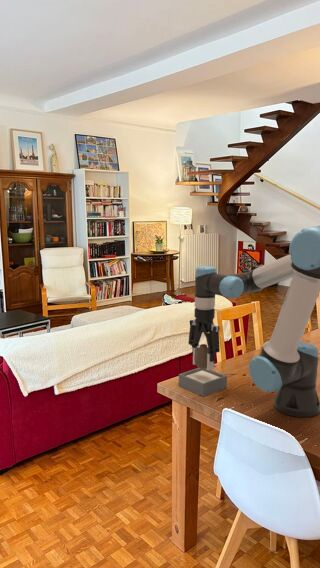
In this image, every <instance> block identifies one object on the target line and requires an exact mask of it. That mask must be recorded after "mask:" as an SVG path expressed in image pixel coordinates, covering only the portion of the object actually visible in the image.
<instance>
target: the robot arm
mask: <svg viewBox="0 0 320 568" xmlns="http://www.w3.org/2000/svg"><path fill="white" fill-rule="evenodd" d="M288 253H289V254H287V255H285V256H282V257H280V258H278V259H276V260H273V261H271V262H268V263H266V264H263V265H261V266H259V267H256V268H254V269H252V270H249V271H246V272H243V273H242V272H240V273H232V274H230V273H229V274H222V273H217V268H216V267H215V266H211V265H200V266H197V267H196V268H195V274H194V275H195V277H194V280H195V281H194V282H195V283H194V286H195V287H194V307H195V308H194V318H193V319H190V320H189V334H188V335H189V336H188V345H190V346H191V348H192V352H191V354H192V365H194V366H196V364H195V362H194V355H195V352H196V351H197V349H198V348H199V347H200V342H201V338H202V335H204V336H205V339H206V343H207V344H206V345H207V347H208V349H209V353H207V370H213V369H214V363H215V361H216V354H217V353H220V347H221V346H220V329H221V328H220V326H219V325H215V323H214V318H215V316H216V315H215V314H216V309H215V307H216V306H215V305H216V295H217V296H220V297H224V298H227V299H228V298H229V299H237V298H239V297H240V296H241V295H244V294H250V293H257V292H259V291H262V290H263V289H264V288H268V287H270V286H273V285H275V284H279V283H281V282H283V281H286V280H289V279H291V280H290V283H289V286H288V289H287V291H286V295H285V297H284V300H283V303H282V305H281V308H280V311H279V314H278V317H277V320H276V323H275V326H274V328H273V332H272V334H271V337H270V340H267V341H265V342H264V343H263V345H262V348H261V350H260V353H259V355H256V356H253V358H252V359H251V360H250V361H249V364H248V372H249V376H250V377H251V381H252V382H253V383H254V385H255V386H256V387H257V388H258V389H259V390H261V391H263V392H265V393H272V392H276V394H275V396H274V399H273V407H274V408H275V409H276V410H277V411H279V412H281V413H282V414H284V415H287V416H291V417H295V418H296V417H297V418H311V417H315V416H317V415H319V413H320V399H319V396H318V392H317V379H318V378H317V377H318V367H319V349H318V347H317V346H316V345H315V344H312V343H308V342H306V341H302V339H303V336H304V334H305V331H306V328H307V326H308V323H309V321H310V318H311V315H312V313H313V310H314V307H315V304H316V303H317V299H318V297H319V295H320V225H312V226H309V227H305V228H302V229H300V231H298V232H297V233H296V234H294V236H293V238H291V241H290V244H289V250H288Z"/></svg>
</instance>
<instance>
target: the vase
mask: <svg viewBox="0 0 320 568" xmlns="http://www.w3.org/2000/svg"><path fill="white" fill-rule="evenodd" d="M198 347H199V348H198V349H197V351H196V352H195V355H194V362H195V367H197V368H200V369H207V353H209V349H208V344H204V343H203V344H199V346H198Z"/></svg>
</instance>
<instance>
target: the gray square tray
mask: <svg viewBox="0 0 320 568" xmlns="http://www.w3.org/2000/svg"><path fill="white" fill-rule="evenodd" d="M178 386H179V387H180V388H183V389H184V390H187V391H190V392H192V393H194V394H196V395H198V396H200V395H201V396H200V397H202V396H204V397H206V396H209V395H211V394H214V393H216V392H217V393H218V392H219V391H222V390H224V389H227V388H228V387H227V386H228V376H227V375H226V374H224V373H223V374H222V373H220V372H217V371H214V370H213V369H211V370H207V369H200V368H198V367H197V368H194V369H190V370H188V371H184V372H182V373H179V374H178Z"/></svg>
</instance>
